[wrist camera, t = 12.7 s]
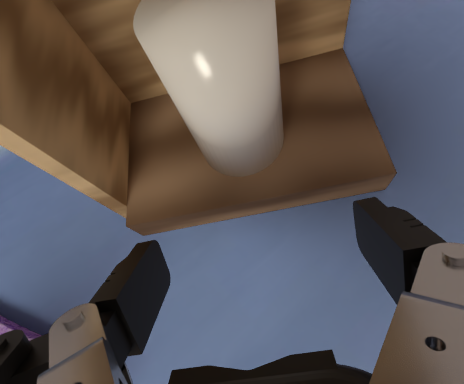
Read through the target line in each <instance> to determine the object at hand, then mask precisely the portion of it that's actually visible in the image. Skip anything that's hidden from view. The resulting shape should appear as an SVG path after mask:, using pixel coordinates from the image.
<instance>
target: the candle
mask: <svg viewBox="0 0 464 384" xmlns="http://www.w3.org/2000/svg"><path fill="white" fill-rule="evenodd" d="M133 28H134V32H135V35H136V37H137V39H138V41H139V42H140V44H141V46H142V48H143V49H144V51H145V53H146V55H147V56H148V58H149V60H150V62H151V64H152V65H153V67H154V69H155V71H156V72H157V74H158V76H159V78H160V79H161V81H162V83H163V85H164V87H165V88H166V90H167V92H168V94H169V95H170V97H171V99H172V101H173V102H174V104H175V106H176V108H177V110H178V111H179V113H180V115H181V117H182V118H183V120H184V122H185V124H186V125H187V127H188V129H189V131H190V132H191V134H192V136H193V138H194V140H195V141H196V143H197V145H198V147H199V148H200V150H201V152H202V154H203V155H204V157H205V159H206V161H207V162H208V164H209V165H210V166H211V167H212V168H213V169H215V170H216V171H218V172H220V173H222V174H224V175H228V176H234V177H243V176H249V175H253V174H256V173H258V172H260V171H262V170H264V169H265V168H267V167H268V166H269V165H271V164H272V163H273V162H274V160H275V159H276V158H277V157H278V155H279V153H280V151H281V149H282V146H283V141H284V133H283V117H282V102H281V86H280V71H279V55H278V39H277V24H276V8H275V0H141V2H140V3H139V5H138V7H137V9H136V12H135V15H134V20H133Z"/></svg>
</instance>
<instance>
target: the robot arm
mask: <svg viewBox="0 0 464 384" xmlns="http://www.w3.org/2000/svg"><path fill="white" fill-rule="evenodd" d="M353 211H354V220H355V229H356V237H357V242H358V246H359V248H360V251H361V253H362V254H363V256H364V257H365V259H366V260H367V262H368V263H369V265H370V266H371V267H372V269H373V270H374V272H375V273H376V275H377V276H378V278H379V279H380V281H381V282H382V284H383V285H384V286H385V288H386V289H387V291H388V292H389V294H390V295H391V297H392V298H393V300H394V301H395V303H396V304H397V307H396V310H395V313H394V316H393V318H392V321H391V324H390V327H389V330H388V332H387V335H386V338H385V341H384V343H383V346H382V349H381V352H380V354H379V357H378V360H377V363H376V366H375V368H374V371H373V374H371V373H369V372H366V371H364V370H361V369H358V368H354V367H350V366H346V365H340V364H336V361H335V358H334V354H333V351H332V350H325V351H317V352H310V353H302V354H294V355H289V356H286V357H284V358H281V359H279V360H276V361H273V362H271V363H268V364H265V365H263V366H260V367H258V368H255V369H252V370H239V369H231V368H224V367H217V366H201V367H193V368H186V369H178V370H172V372H171V376H170V379H169V383H168V384H464V244H460V243H447V242H446V241H445V240H443V239H442V238H441V237H439V236H438V235H437V234H436V233H434V232H433V231H432V230H430V229H429V228H428V227H427V226H424V225H423V223H421V222H420V221H419V220H418V219H417V220H416V218H415V217H414V216H412V215H411V214H410V213H409V212H407V211H405V210H402V209H399V208H396V207H386V206H385V205H384V204H383V203H382V202H381V201H379V200H378V199H377V198H376V197H372V198H367V199H362V200H357V201H354V202H353ZM169 286H170V272H169V269H168V267H167V264H166V261H165V259H164V256H163V253H162V251H161V248H160V245H159V243H158V242H157V241H156V240H152V241H147V242H142V243H137V244H136V245H135V247H134V248H133V250H132V251H131V252H130V254H129V255H128V256H127V257H126V258H125V259H124V260H123V261H121V262H120V263H119V264H118V265H117V266H116V267H115V268H114V270H113V271H112V272H111V275H109V276H108V278H107V279H106V280H105V282H104V283H103V284H102V286H101V287H100V288H99V290H98V291H97V292H96V294H95V295H94V296H93V298H92V299H91V301H90V302H89V303H87V304H82V305H79V306H77V307H74V308H72V309H71V310H69V311H67V312H66V313H64V314H63V315H62V316H60V317H59V318H58V319H57V320H56V321H55V322H54V323H53V325H52V326H51V328H50V330H49V333H48V334H45V335H43V336H40V337H37V338H35V339H32V340H30V341H29V340H28V338H27V337H26V335H25V334H24V332H23V331H22V330H12V331H9V332H6V333H4V334H1V335H0V384H133V381H132V379H131V376H130V373H129V370H128V368H127V366H126V364H125V360H126V358H127V356H133V355H140V354H142V353H143V351H144V348H145V346H146V343H147V341H148V338H149V336H150V333H151V331H152V328H153V326H154V323H155V321H156V318H157V316H158V313H159V311H160V308H161V306H162V303H163V301H164V298H165V296H166V293H167V291H168V288H169Z"/></svg>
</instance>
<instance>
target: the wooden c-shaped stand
mask: <svg viewBox="0 0 464 384" xmlns="http://www.w3.org/2000/svg"><path fill="white" fill-rule="evenodd" d="M140 2H141V0H0V145H1V146H3V147H5V148H6V149H8V150H10V151H11V152H13V153H15V154H17V155H18V156H20V157H22V158H23V159H25V160H27V161H29V162H30V163H32V164H34V165H35V166H37V167H39V168H41V169H42V170H44V171H46V172H47V173H49V174H51V175H53V176H54V177H56V178H58V179H59V180H61V181H63V182H65V183H66V184H68V185H70V186H72V187H73V188H75V189H77V190H78V191H80V192H82V193H84V194H85V195H87V196H89V197H90V198H92V199H94V200H96V201H97V202H99V203H101V204H102V205H104V206H106V207H108V208H109V209H111V210H113V211H114V212H116V213H118V214H120V215H121V216H123V217H125V218H126V227H128V228H130V229H132V230H134V231H136V232H137V233H139V234H141V235H143V236H145V235H150V234H155V233H160V232H165V231H171V230H176V229H181V228H186V227H192V226H197V225H202V224H207V223H213V222H218V221H223V220H228V219H233V218H239V217H244V216H249V215H254V214H260V213H265V212H270V211H275V210H280V209H286V208H291V207H296V206H301V205H307V204H312V203H317V202H322V201H328V200H333V199H338V198H343V197H348V196H354V195H359V194H364V193H369V192H375V191H380V190H385V189H386V188H387V186H388V185H389V183H390V182H391V181H392V179H393V178H394V176H395V175H396V173H397V172H396V170H395V167H394V165H393V163H392V160H391V158H390V156H389V154H388V151H387V149H386V147H385V144H384V142H383V140H382V137H381V135H380V133H379V130H378V128H377V126H376V123H375V121H374V119H373V117H372V114H371V112H370V110H369V107H368V105H367V103H366V100H365V98H364V96H363V93H362V91H361V89H360V87H359V84H358V82H357V80H356V77H355V75H354V73H353V70H352V68H351V66H350V63H349V61H348V59H347V57H346V54H345V52H344V50H343V44H344V38H345V32H346V27H347V21H348V15H349V9H350V4H351V0H275V8H276V24H277V39H278V55H279V71H280V86H281V102H282V117H283V133H284V141H283V146H282V149H281V151H280V153H279V155H278V157H277V158H276V159H275V160H274V162H273V163H272V164H271V165H269V166H268V167H267V168H265V169H264V170H262V171H260V172H258V173H256V174H253V175H249V176H243V177H234V176H228V175H224V174H222V173H220V172H218V171H216V170H215V169H213V168H212V167H211V166H210V165H209V164H208V162H207V161H206V159H205V157H204V155H203V154H202V152H201V150H200V148H199V147H198V145H197V143H196V141H195V140H194V138H193V136H192V134H191V132H190V131H189V129H188V127H187V125H186V124H185V122H184V120H183V118H182V117H181V115H180V113H179V111H178V110H177V108H176V106H175V104H174V102H173V101H172V99H171V97H170V95H169V94H168V92H167V90H166V88H165V87H164V85H163V83H162V81H161V79H160V78H159V76H158V74H157V72H156V71H155V69H154V67H153V65H152V64H151V62H150V60H149V58H148V56H147V55H146V53H145V51H144V49H143V48H142V46H141V44H140V42H139V41H138V39H137V37H136V35H135V32H134V28H133V20H134V15H135V12H136V9H137V7H138V5H139V3H140Z"/></svg>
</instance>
